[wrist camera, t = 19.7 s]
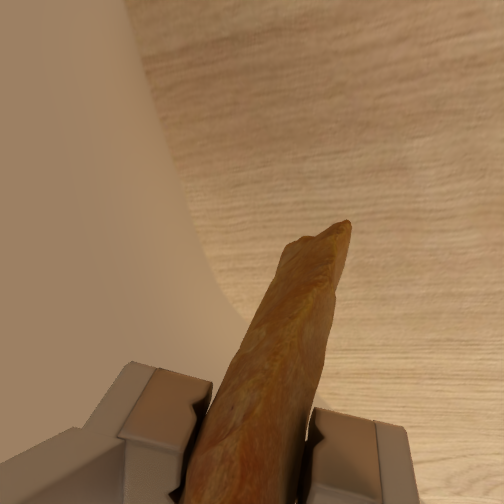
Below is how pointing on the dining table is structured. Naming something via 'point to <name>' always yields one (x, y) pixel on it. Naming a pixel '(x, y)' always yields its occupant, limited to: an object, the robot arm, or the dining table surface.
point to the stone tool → (271, 382)
